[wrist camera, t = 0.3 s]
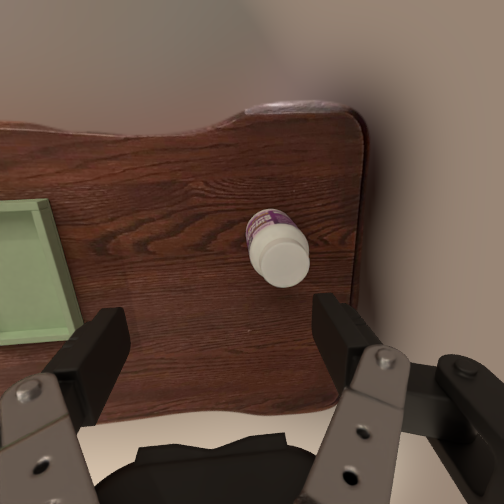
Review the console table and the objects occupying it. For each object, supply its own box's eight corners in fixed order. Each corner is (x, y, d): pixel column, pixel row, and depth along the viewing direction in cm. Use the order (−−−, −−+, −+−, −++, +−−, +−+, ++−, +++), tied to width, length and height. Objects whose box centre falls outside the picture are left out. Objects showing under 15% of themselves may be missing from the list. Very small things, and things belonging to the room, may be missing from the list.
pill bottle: (256, 200, 30) (269, 222, 21) (300, 218, 32) (330, 247, 22) (237, 244, 32) (242, 283, 23) (280, 260, 33) (300, 303, 24)
